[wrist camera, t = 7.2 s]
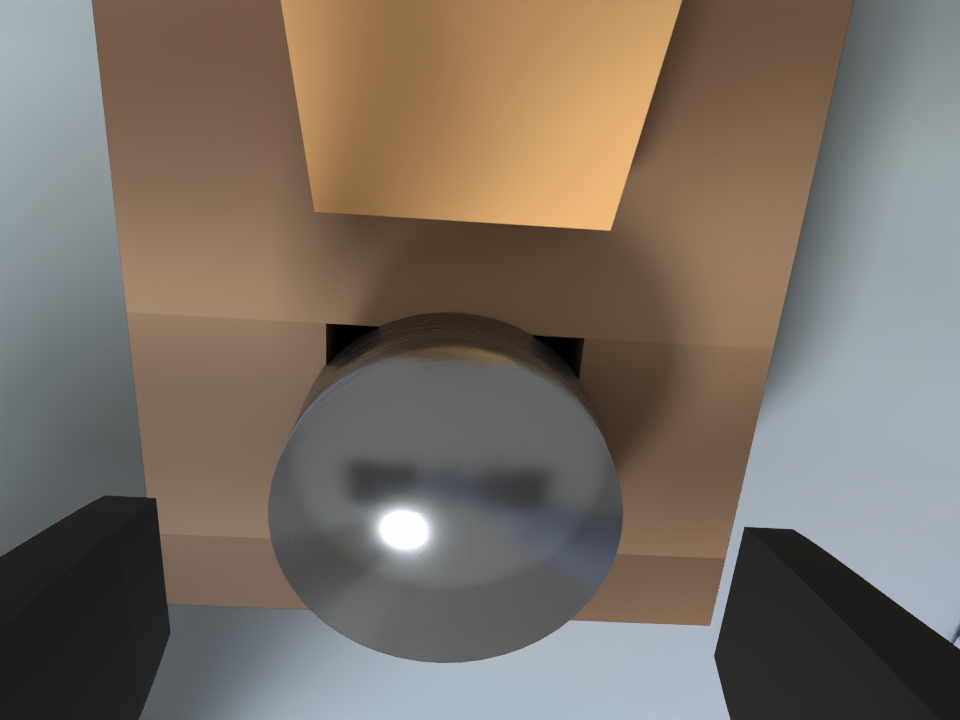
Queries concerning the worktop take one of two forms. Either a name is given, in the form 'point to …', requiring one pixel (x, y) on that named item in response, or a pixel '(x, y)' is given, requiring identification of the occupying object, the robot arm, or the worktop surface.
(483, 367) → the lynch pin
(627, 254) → the hitch block
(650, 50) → the block
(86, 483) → the worktop surface
